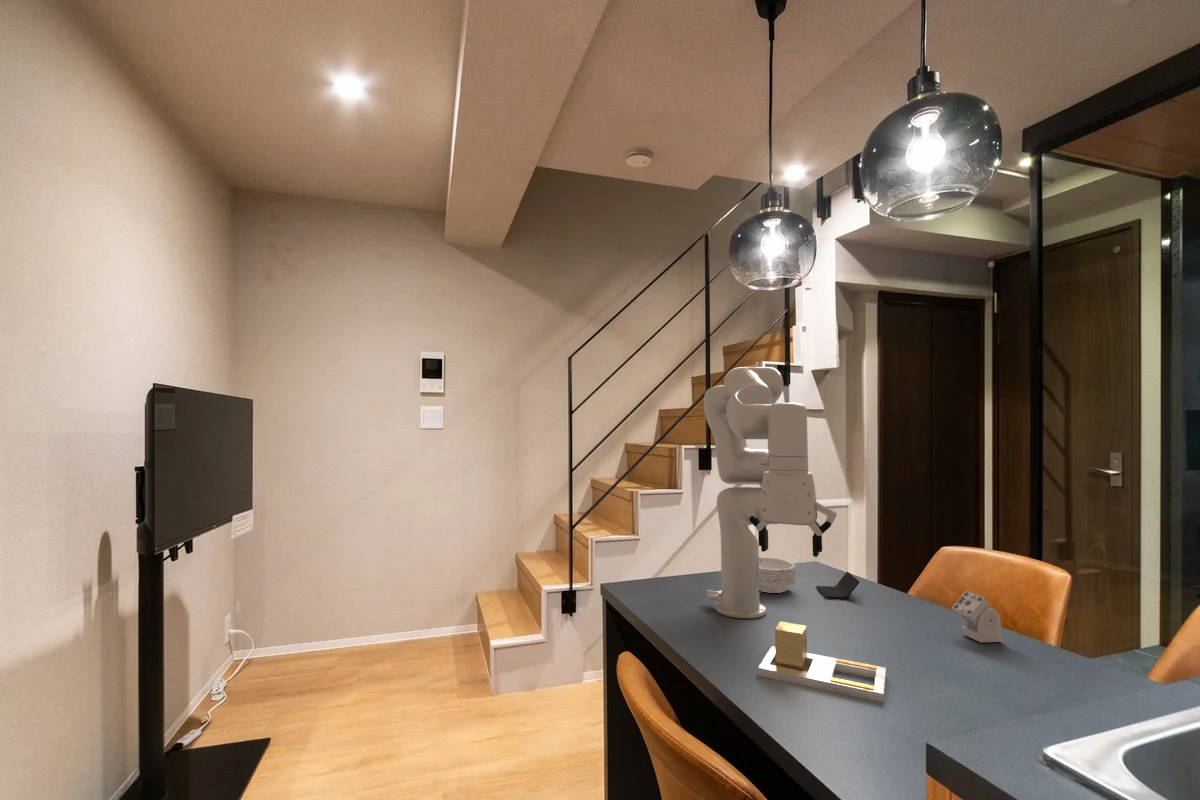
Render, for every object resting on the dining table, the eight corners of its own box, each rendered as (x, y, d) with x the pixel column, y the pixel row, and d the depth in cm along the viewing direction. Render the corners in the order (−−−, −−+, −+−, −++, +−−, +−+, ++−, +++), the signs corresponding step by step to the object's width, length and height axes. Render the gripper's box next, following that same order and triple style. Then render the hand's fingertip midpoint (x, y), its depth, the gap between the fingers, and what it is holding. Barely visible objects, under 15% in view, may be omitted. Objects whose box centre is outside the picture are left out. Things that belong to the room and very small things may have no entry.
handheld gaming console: (809, 583, 161) (830, 557, 161) (827, 597, 162) (849, 572, 161) (824, 600, 150) (848, 572, 149) (844, 616, 150) (868, 588, 150)
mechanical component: (1003, 643, 119) (1001, 596, 120) (970, 644, 118) (968, 597, 119) (983, 634, 124) (981, 589, 125) (951, 635, 123) (950, 590, 124)
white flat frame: (758, 675, 102) (758, 666, 102) (772, 653, 113) (771, 645, 113) (883, 702, 92) (883, 692, 92) (886, 675, 102) (885, 666, 103)
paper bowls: (797, 599, 150) (796, 570, 151) (740, 594, 155) (740, 566, 156) (795, 585, 165) (795, 558, 165) (744, 580, 169) (743, 555, 170)
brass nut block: (775, 672, 104) (774, 629, 105) (781, 662, 109) (780, 621, 109) (803, 677, 102) (802, 633, 102) (807, 667, 106) (806, 625, 107)
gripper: (739, 464, 109) (740, 551, 107) (832, 467, 100) (835, 561, 99) (748, 463, 115) (750, 545, 114) (837, 465, 107) (839, 554, 106)
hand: (789, 552), depth 107 cm, fingers open, 9 cm apart
